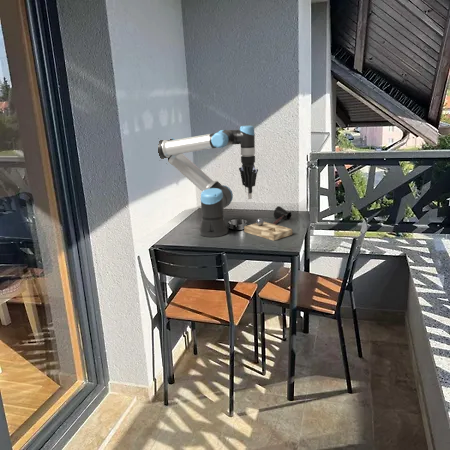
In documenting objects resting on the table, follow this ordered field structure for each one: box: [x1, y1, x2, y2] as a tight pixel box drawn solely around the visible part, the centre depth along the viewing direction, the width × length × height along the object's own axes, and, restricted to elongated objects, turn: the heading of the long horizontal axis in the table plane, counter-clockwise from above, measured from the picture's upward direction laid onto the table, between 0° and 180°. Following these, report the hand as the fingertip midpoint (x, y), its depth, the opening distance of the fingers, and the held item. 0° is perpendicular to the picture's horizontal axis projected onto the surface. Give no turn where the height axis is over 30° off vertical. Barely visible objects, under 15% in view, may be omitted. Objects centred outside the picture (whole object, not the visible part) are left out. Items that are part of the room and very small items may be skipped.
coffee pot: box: [272, 205, 292, 225], centre depth 256 cm, size 8×18×8 cm
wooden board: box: [243, 221, 293, 241], centre depth 233 cm, size 14×22×3 cm, turn 40°
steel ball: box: [255, 218, 265, 226], centre depth 236 cm, size 4×4×4 cm
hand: (249, 198), depth 239 cm, fingers closed
